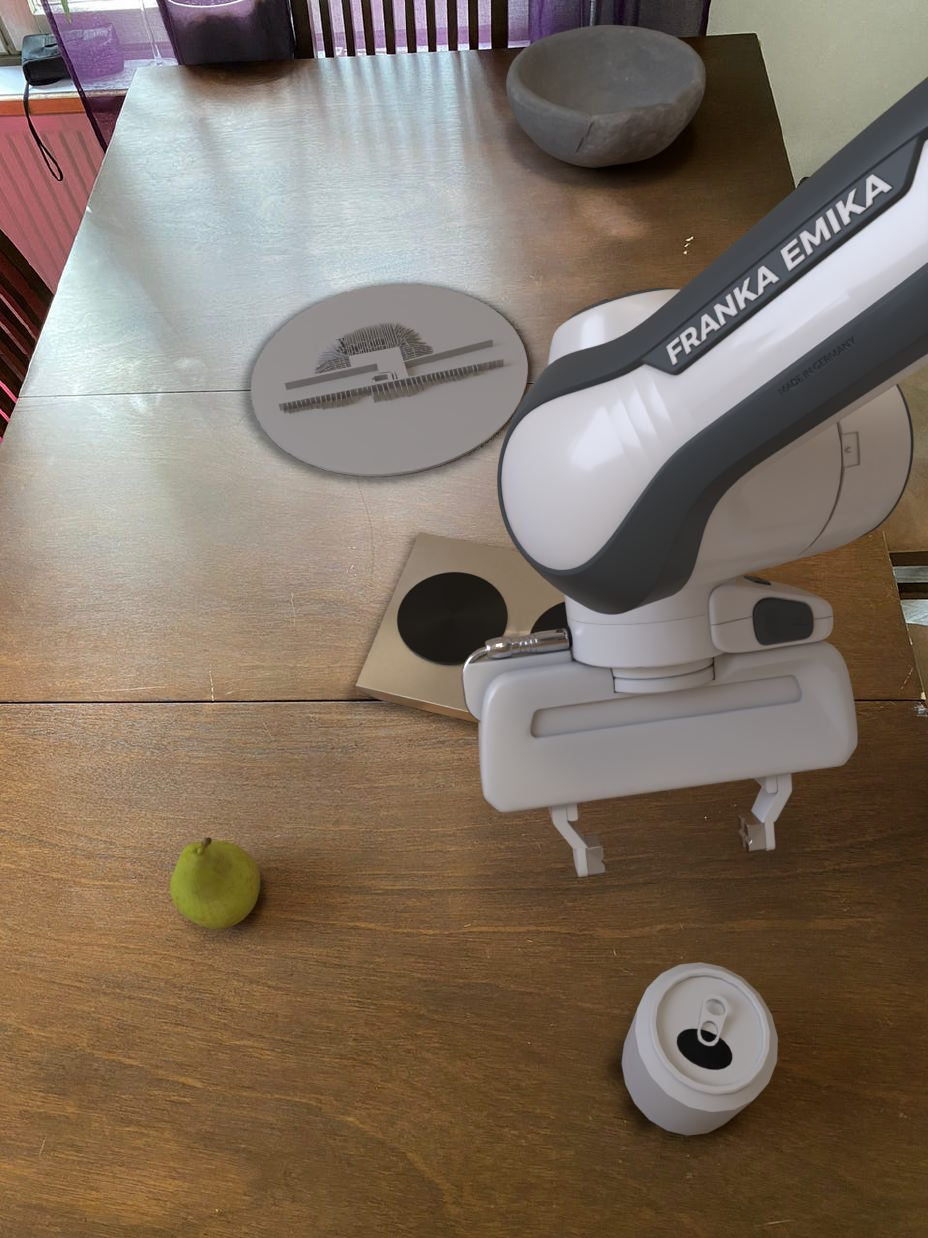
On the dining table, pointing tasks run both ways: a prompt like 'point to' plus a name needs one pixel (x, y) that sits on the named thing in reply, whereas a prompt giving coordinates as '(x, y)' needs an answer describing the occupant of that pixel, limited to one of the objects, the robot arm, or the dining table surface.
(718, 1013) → the can
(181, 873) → the fruit
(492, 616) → the hob
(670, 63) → the bowl
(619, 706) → the robot arm
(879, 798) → the dining table surface
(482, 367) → the plate
